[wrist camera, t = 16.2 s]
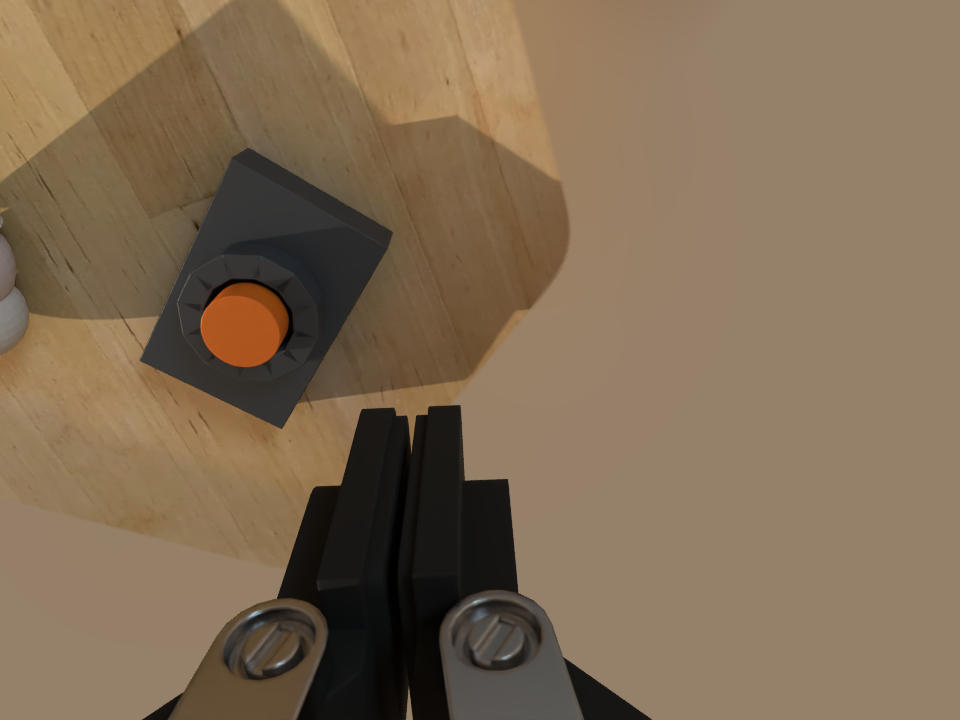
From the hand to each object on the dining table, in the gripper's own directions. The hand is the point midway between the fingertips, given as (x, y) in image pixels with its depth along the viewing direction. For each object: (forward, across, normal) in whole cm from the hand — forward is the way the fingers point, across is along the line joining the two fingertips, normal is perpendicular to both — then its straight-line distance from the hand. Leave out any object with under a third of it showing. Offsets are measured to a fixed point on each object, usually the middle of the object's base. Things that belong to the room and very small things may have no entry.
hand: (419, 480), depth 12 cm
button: (+21, +10, +5) cm, 24 cm away
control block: (+25, +10, +6) cm, 27 cm away
